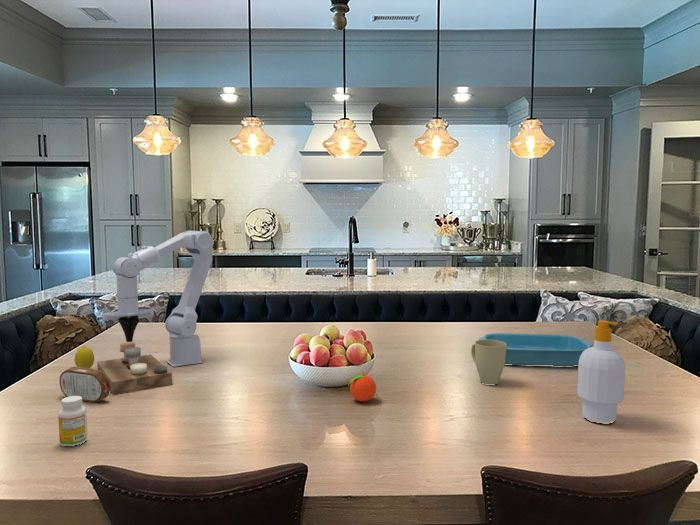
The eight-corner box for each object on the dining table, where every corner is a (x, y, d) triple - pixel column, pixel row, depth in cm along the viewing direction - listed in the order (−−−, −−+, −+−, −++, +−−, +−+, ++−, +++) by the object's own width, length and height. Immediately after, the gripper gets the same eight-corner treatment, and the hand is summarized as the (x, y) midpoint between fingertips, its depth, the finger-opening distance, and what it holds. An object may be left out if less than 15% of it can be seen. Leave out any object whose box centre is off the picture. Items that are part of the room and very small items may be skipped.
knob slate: (139, 363, 166) (138, 346, 166) (142, 366, 163) (142, 349, 162) (123, 365, 164) (123, 348, 163) (127, 369, 160) (126, 351, 160)
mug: (508, 380, 163) (509, 340, 162) (502, 389, 154) (503, 348, 153) (471, 375, 168) (472, 336, 167) (463, 384, 159) (464, 344, 158)
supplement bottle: (66, 437, 121) (64, 394, 120) (91, 436, 122) (89, 394, 121) (55, 447, 116) (53, 403, 115) (81, 447, 116) (79, 402, 115)
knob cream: (145, 379, 161) (144, 362, 160) (148, 383, 157) (148, 365, 157) (129, 382, 158) (128, 364, 158) (132, 386, 155) (132, 368, 154)
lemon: (87, 374, 167) (85, 348, 167) (71, 373, 169) (70, 347, 168) (98, 369, 173) (97, 344, 172) (83, 368, 174) (82, 343, 173)
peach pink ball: (134, 358, 172) (133, 341, 172) (137, 361, 168) (136, 344, 168) (119, 360, 170) (118, 343, 169) (122, 363, 166) (121, 346, 165)
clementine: (354, 407, 140) (354, 380, 139) (341, 399, 146) (342, 373, 146) (381, 402, 144) (381, 376, 143) (368, 394, 150) (368, 369, 149)
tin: (111, 401, 144) (110, 370, 144) (102, 405, 141) (101, 373, 141) (67, 394, 149) (66, 364, 148) (57, 398, 146) (56, 367, 146)
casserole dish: (482, 368, 177) (483, 346, 176) (475, 350, 199) (475, 331, 198) (602, 372, 172) (603, 350, 172) (580, 354, 194) (581, 334, 194)
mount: (151, 364, 178) (150, 350, 177) (172, 384, 158) (171, 368, 158) (97, 372, 169) (97, 357, 169) (112, 394, 149) (112, 377, 149)
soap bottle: (619, 431, 126) (625, 327, 123) (572, 422, 131) (576, 322, 129) (624, 417, 134) (629, 320, 132) (579, 408, 140) (584, 315, 138)
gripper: (104, 301, 158) (106, 347, 159) (155, 296, 166) (157, 340, 167) (99, 297, 164) (101, 342, 165) (149, 293, 172) (151, 336, 173)
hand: (129, 341), depth 166 cm, fingers closed
